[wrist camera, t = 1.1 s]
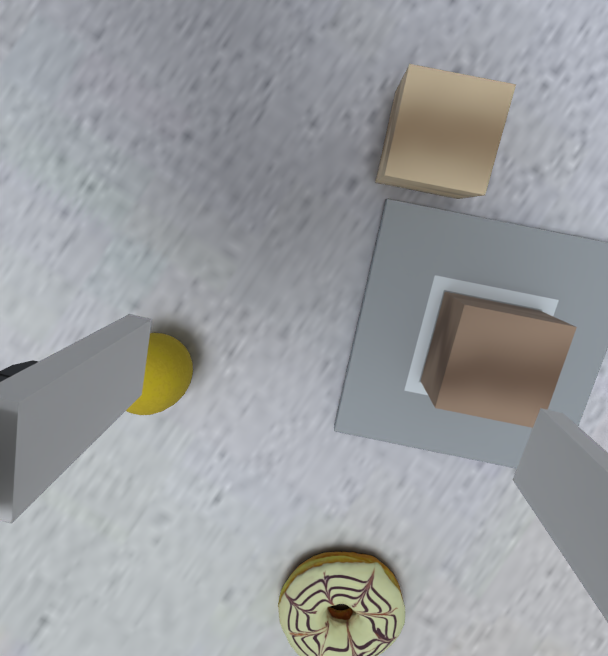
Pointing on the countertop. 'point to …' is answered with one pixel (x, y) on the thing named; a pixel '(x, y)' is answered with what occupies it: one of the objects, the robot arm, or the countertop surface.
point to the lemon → (163, 375)
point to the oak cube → (444, 132)
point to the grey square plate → (475, 281)
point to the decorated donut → (341, 588)
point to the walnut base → (495, 359)
